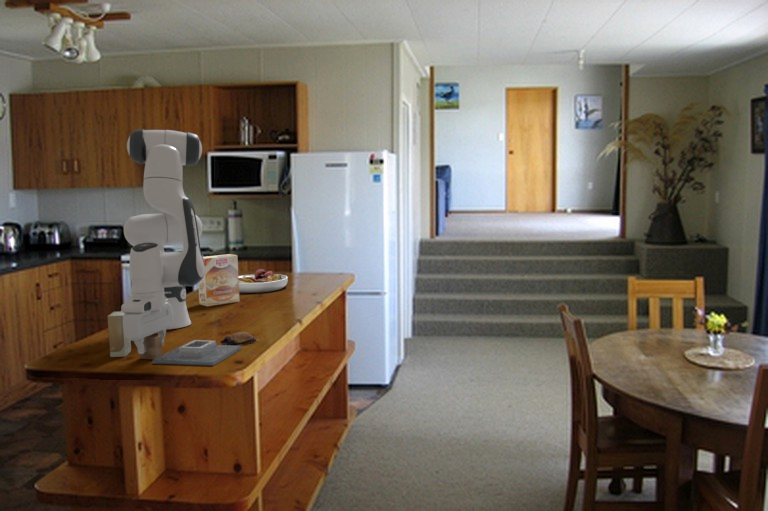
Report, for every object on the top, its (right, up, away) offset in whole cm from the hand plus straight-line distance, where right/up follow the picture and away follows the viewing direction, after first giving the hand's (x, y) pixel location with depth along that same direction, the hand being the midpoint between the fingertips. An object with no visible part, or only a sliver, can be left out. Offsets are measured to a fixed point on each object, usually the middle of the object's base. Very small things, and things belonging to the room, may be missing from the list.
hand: (151, 349), depth 190 cm
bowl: (+6, +11, +121) cm, 122 cm away
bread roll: (+21, -1, +17) cm, 27 cm away
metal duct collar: (+13, -2, +1) cm, 13 cm away
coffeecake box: (-1, +7, +85) cm, 85 cm away
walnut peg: (0, -2, 0) cm, 3 cm away
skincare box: (-11, -2, +5) cm, 12 cm away
